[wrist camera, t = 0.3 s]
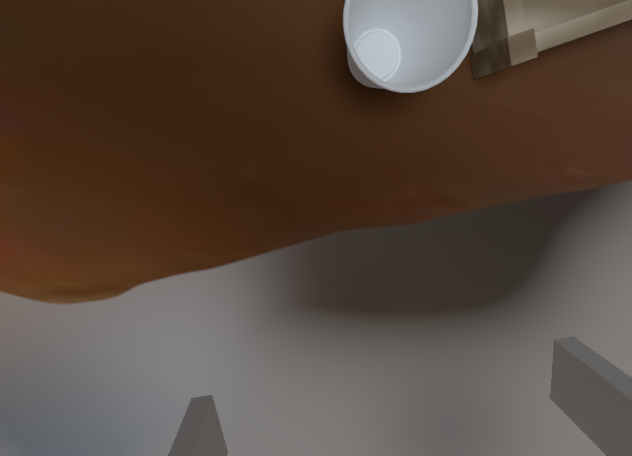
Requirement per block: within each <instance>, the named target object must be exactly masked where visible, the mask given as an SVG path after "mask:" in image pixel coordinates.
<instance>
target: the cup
mask: <svg viewBox="0 0 632 456" xmlns="http://www.w3.org/2000/svg"><path fill="white" fill-rule="evenodd" d="M477 19H478V1H477V0H345V4H344V10H343V30H344V36H345V41H346V45H347V60H348V66H349V69H350V71H351V73H352V75H353V76H354V78H355V79H356V80H357V81H358V82H360V83H361V84H362V85H365V86H367V87H371V88H382V89H387V90H389V91H394V92H399V93H414V92H419V91H423V90H427V89H429V88H431V87H433V86H435V85H437V84H439V83H440V82H442V81H443V80H445V79H446V78H447V77H449V76H450V75H451V74H452V73H453V72H454V71H455V70H456V69H457V68H458V66H459V65H460V64H461V62H462V61H463V59H464V58H465V56H466V55H467V53H468V51H469V48H470V46H471V44H472V42H473V39H474V35H475V31H476V27H477Z"/></svg>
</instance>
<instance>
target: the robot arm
mask: <svg viewBox="0 0 632 456" xmlns="http://www.w3.org/2000/svg"><path fill="white" fill-rule="evenodd" d="M550 399H551V400H552V401H553V402H554V403H555V404H556V405H557V406H558V407H559V408H560V409H561V410H562V411H563V412H564V413H565V414H566V415H567V416H568V417H569V418H570V419H571V420H572V421H573V422H574V423H575V424H576V425H577V426H578V427H579V428H580V429H581V430H582V431H583V432H584V433H585V434H586V435H587V436H588V437H589V438H590V439H591V440H592V441H593V443H594V444H596V446H597V447H598V448H600V450H601V451H602V452H603V453H604V454H605V455H606V456H632V378H631V377H630V376H628V375H627V374H626V373H624V372H623V371H621V370H620V369H619V368H617V367H616V366H614V365H613V364H611V363H610V362H609V361H607V360H606V359H605V358H603V357H602V356H600V355H599V354H597V353H596V352H595V351H593V350H592V349H590V348H589V347H588V346H586V345H585V344H583V343H582V342H581V341H579V340H578V339H576V338H575V337H568V338H562V339H556V340H554V349H553V364H552V379H551V394H550ZM227 453H228V450H227V447H226V443H225V440H224V436H223V432H222V429H221V425H220V422H219V418H218V414H217V411H216V407H215V404H214V400H213V396H212V395H208V396H202V397H196V398H192V399H191V401H190V404H189V406H188V408H187V411H186V413H185V416H184V418H183V421H182V423H181V426H180V429H179V431H178V433H177V436H176V438H175V440H174V443H173V445H172V448H171V450H170V453H169V455H168V456H227Z"/></svg>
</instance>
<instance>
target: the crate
mask: <svg viewBox="0 0 632 456" xmlns="http://www.w3.org/2000/svg"><path fill="white" fill-rule="evenodd" d="M477 1H478V19H477V27H476V31H475V35H474V39H473V42H472V44H471V46H472V51H473V55H470V61H471V67H472V72H473V78H474V79H476V78H479V77H482V76H485V75H488V74H490V73H493V72H496V71H499V70H502V69H505V68H508V67H510V66H513V65H516V64H519V63H522V62H525V61H528V60H530V59H533V58H536V57H538V55H537V53H539V52H541V51H544V50H547V49H550V48H553V47H556V46H559V45H561V44H564V43H567V42H570V41H573V40H576V39H578V38H581V37H584V36H587V35H590V34H593V33H596V32H598V31H601V30H604V29H607V28H610V27H613V26H616V25H618V24H621V23H624V22H627V21H630V20H632V0H477Z"/></svg>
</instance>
